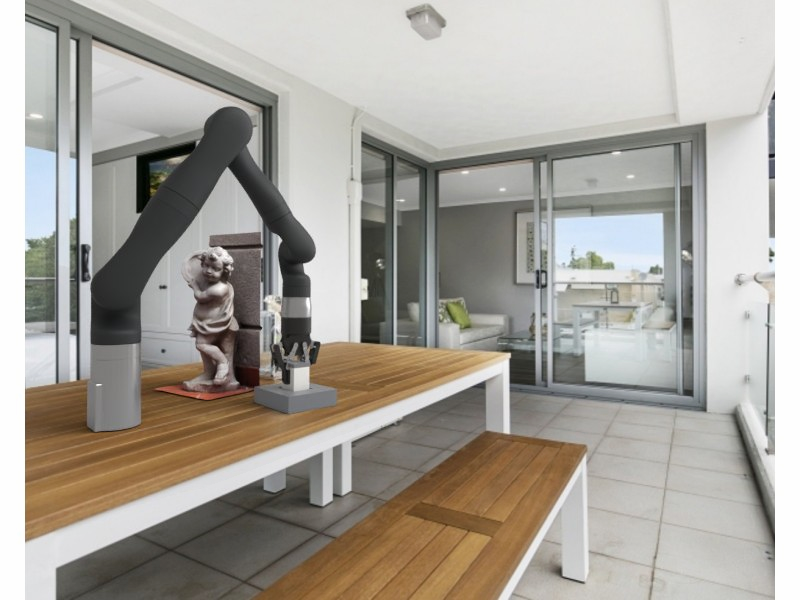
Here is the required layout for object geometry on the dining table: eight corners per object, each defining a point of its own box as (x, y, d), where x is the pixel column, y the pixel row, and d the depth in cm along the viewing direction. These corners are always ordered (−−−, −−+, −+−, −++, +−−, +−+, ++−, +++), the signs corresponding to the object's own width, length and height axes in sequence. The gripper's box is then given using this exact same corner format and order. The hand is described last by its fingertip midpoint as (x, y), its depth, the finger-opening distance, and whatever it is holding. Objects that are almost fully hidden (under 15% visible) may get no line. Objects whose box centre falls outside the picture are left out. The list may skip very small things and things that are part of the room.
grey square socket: (288, 414, 117) (288, 396, 117) (254, 402, 128) (254, 386, 128) (336, 405, 126) (337, 389, 126) (300, 394, 138) (301, 380, 138)
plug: (293, 400, 124) (294, 364, 123) (281, 397, 127) (282, 361, 127) (309, 398, 127) (309, 362, 127) (296, 394, 131) (297, 360, 130)
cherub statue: (154, 390, 140) (155, 229, 139) (210, 381, 156) (211, 235, 155) (207, 401, 128) (208, 224, 127) (262, 389, 144) (264, 232, 143)
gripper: (279, 316, 119) (278, 388, 119) (328, 315, 129) (327, 381, 129) (263, 315, 124) (262, 384, 125) (311, 314, 134) (310, 377, 135)
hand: (295, 382), depth 127 cm, fingers closed on plug, 4 cm apart
